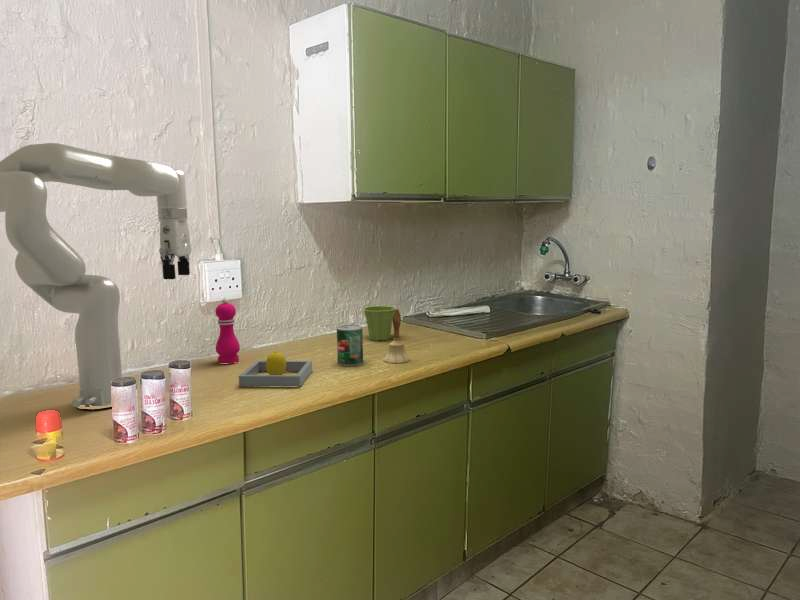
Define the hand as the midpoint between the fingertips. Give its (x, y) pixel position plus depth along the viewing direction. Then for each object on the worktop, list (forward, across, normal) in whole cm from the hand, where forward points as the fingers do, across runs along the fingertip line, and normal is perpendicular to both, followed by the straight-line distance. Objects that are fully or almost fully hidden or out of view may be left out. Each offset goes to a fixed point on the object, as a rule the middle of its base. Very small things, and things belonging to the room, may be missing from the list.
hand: (177, 277), depth 172 cm
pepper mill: (+28, +15, -8) cm, 33 cm away
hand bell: (+29, +18, -60) cm, 69 cm away
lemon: (+28, -3, -28) cm, 40 cm away
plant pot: (+28, +48, -52) cm, 76 cm away
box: (+28, -3, -28) cm, 40 cm away
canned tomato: (+28, +15, -46) cm, 56 cm away
